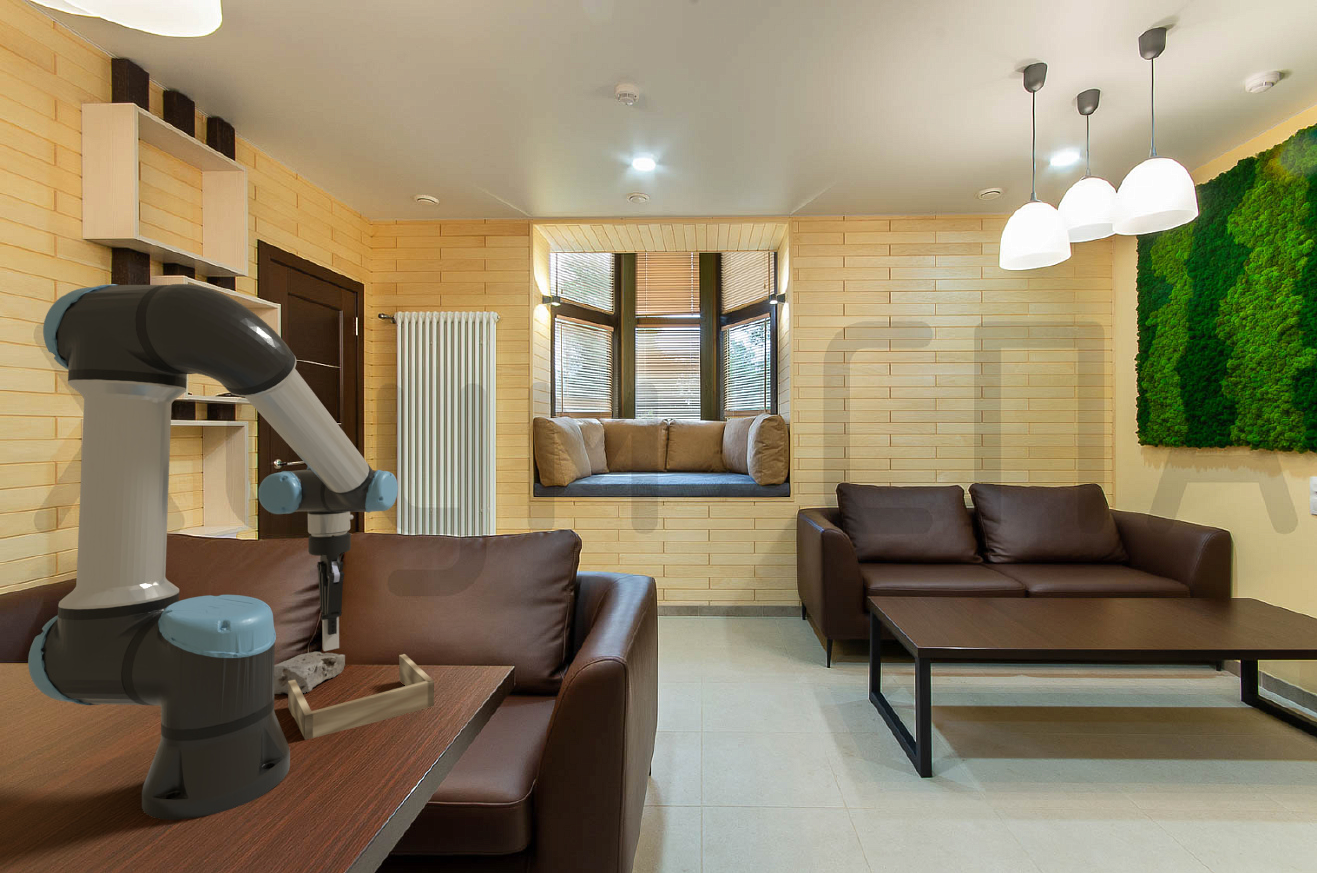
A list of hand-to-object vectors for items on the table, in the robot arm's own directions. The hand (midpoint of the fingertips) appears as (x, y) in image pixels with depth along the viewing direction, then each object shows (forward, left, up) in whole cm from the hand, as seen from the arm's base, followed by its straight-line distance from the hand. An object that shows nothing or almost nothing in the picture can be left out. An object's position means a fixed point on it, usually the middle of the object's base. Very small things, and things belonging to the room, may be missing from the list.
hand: (330, 648), depth 118 cm
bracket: (-25, 0, -3) cm, 25 cm away
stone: (-10, +1, -1) cm, 10 cm away
